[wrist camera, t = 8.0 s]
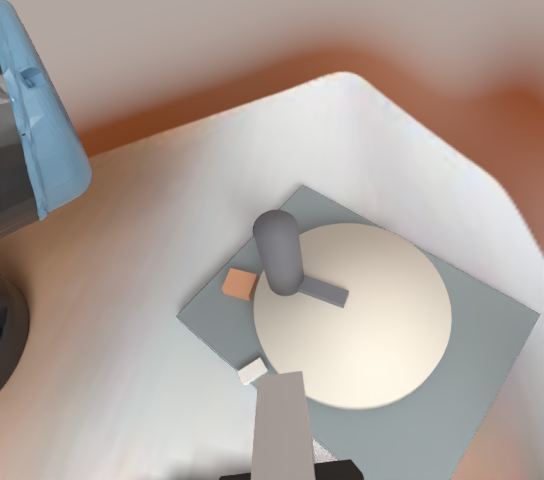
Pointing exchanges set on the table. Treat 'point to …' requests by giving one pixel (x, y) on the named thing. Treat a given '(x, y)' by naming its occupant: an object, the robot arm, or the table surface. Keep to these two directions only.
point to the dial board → (411, 409)
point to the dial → (348, 310)
